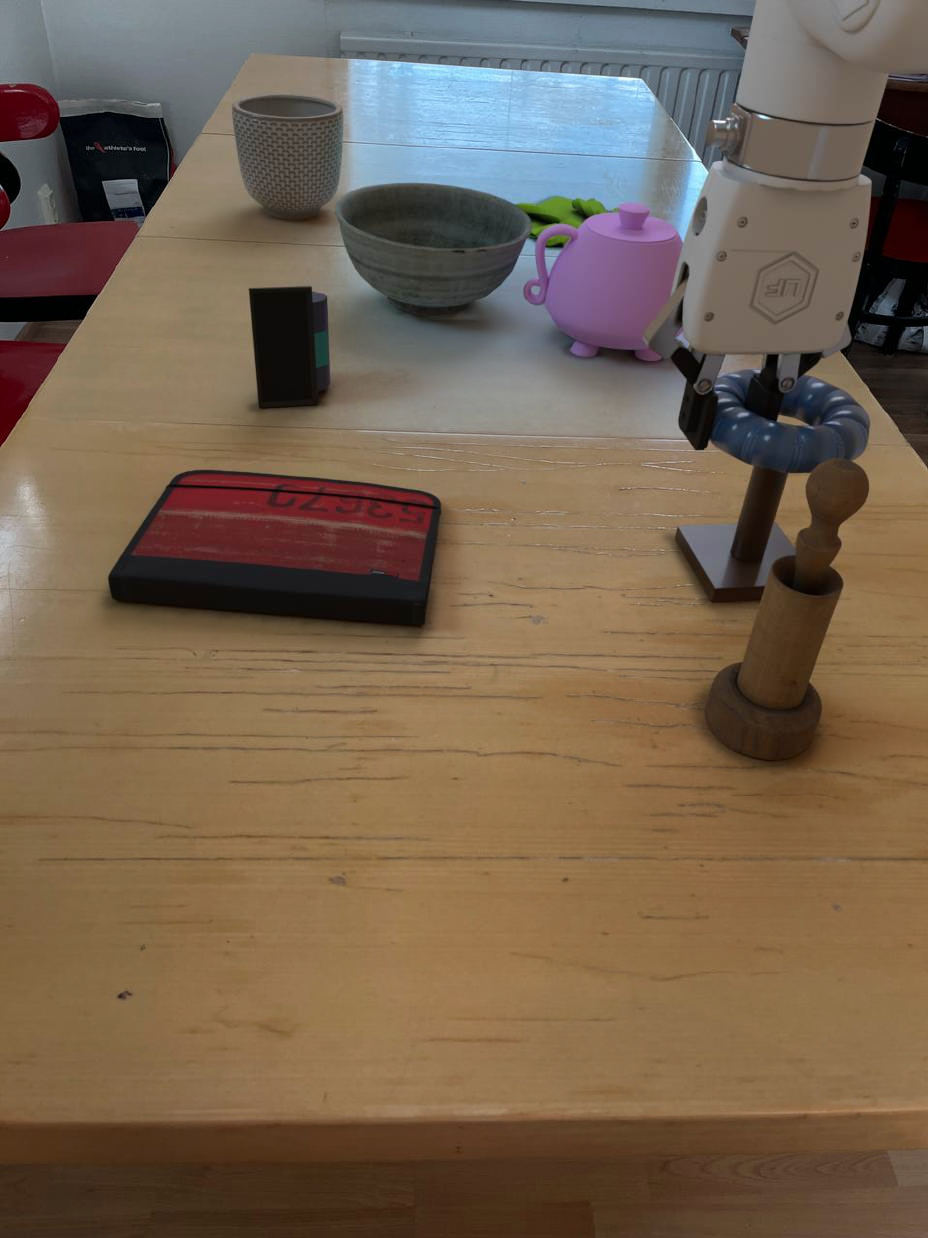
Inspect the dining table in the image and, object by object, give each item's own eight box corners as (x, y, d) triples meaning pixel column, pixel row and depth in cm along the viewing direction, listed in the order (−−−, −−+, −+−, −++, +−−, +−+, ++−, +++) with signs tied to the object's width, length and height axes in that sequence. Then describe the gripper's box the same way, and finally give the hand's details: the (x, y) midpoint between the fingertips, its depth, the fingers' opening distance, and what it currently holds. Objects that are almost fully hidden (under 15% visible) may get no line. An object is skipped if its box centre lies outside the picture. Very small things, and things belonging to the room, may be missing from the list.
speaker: (320, 412, 89) (313, 293, 83) (257, 408, 89) (245, 290, 84) (338, 383, 95) (333, 271, 90) (279, 380, 96) (270, 268, 90)
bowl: (397, 257, 122) (399, 170, 116) (553, 295, 115) (564, 205, 109) (298, 309, 108) (294, 213, 101) (469, 357, 101) (476, 257, 94)
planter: (255, 232, 126) (247, 120, 118) (227, 200, 136) (219, 94, 128) (359, 224, 131) (359, 116, 123) (325, 193, 141) (323, 91, 133)
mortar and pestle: (745, 672, 65) (824, 421, 54) (833, 727, 61) (938, 470, 50) (682, 717, 61) (753, 457, 50) (772, 779, 57) (870, 514, 46)
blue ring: (892, 479, 64) (907, 437, 63) (728, 484, 63) (739, 441, 61) (817, 399, 73) (829, 361, 71) (671, 402, 71) (679, 362, 69)
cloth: (541, 253, 126) (544, 234, 125) (473, 202, 142) (474, 184, 140) (678, 242, 133) (682, 223, 132) (599, 194, 149) (601, 177, 147)
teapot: (712, 319, 113) (740, 191, 104) (739, 379, 100) (774, 239, 92) (517, 306, 112) (529, 176, 103) (520, 364, 100) (535, 223, 91)
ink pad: (426, 600, 65) (104, 574, 65) (424, 629, 66) (109, 603, 66) (444, 483, 78) (175, 461, 78) (442, 509, 79) (179, 488, 79)
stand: (816, 596, 72) (859, 472, 66) (711, 602, 71) (745, 476, 64) (771, 534, 78) (807, 415, 72) (674, 538, 77) (702, 418, 70)
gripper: (677, 160, 51) (620, 472, 63) (966, 166, 54) (862, 464, 66) (633, 124, 57) (588, 416, 69) (897, 132, 60) (812, 411, 71)
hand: (723, 437), depth 67 cm, fingers closed on blue ring, 3 cm apart
